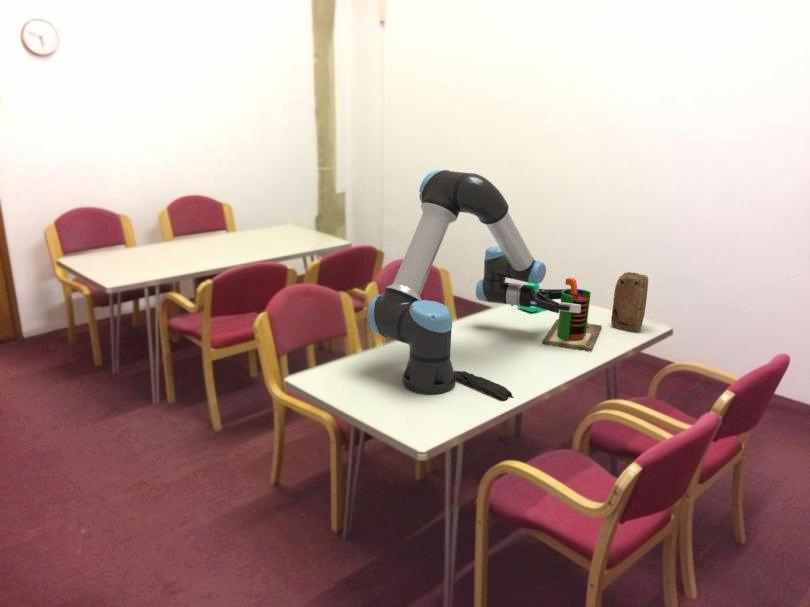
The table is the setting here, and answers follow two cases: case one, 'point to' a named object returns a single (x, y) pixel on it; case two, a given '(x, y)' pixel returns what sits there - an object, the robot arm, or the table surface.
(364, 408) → the table surface
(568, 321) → the motor
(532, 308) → the camera mount
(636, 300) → the block
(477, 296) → the robot arm
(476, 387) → the wood
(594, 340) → the mounting board
